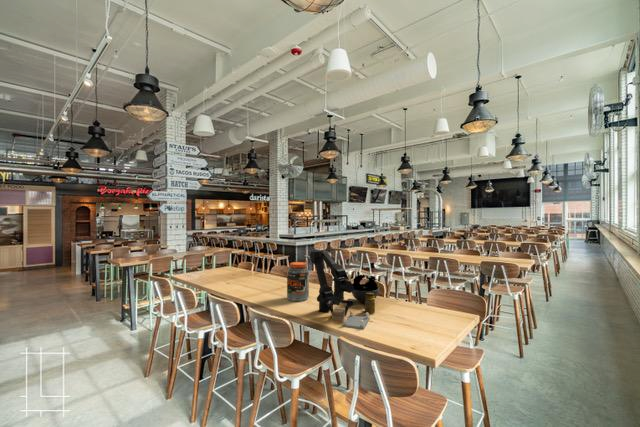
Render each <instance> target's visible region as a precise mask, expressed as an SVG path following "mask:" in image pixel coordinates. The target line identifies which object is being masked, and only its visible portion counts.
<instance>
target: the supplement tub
mask: <svg viewBox="0 0 640 427" xmlns="http://www.w3.org/2000/svg"><path fill="white" fill-rule="evenodd" d="M286 272H287V273H286V274H287V275H286V276H287V277H286V279H287V280H286V298H287V300H289V301H292V302H303V301H307V300H308V299H309V296H310V295H309V293H310V292H309V290H310V288H309V286H310V282H309V281H310V270H309V268H308V264H307V262H301V261H293V262H290V263H289V268H288V269H287V271H286Z"/></svg>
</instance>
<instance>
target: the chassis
mask: <svg viewBox="0 0 640 427" xmlns="http://www.w3.org/2000/svg"><path fill="white" fill-rule="evenodd" d="M353 314H354V310H349V316H347V317H344V318H343V322H342V327H345V326H346V328H352V329H358V330H359V329H360V330H365V328H366V327H367V325H368V323H369V322H370V320H371V318H370V315H369V313H366V314H365V316H361V315H353Z"/></svg>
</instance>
